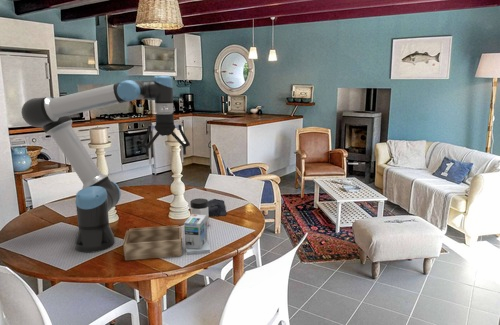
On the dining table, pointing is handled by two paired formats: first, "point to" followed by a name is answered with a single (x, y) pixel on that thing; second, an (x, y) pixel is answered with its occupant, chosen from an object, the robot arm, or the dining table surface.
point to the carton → (152, 242)
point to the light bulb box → (195, 231)
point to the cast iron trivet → (216, 208)
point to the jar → (200, 207)
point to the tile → (204, 249)
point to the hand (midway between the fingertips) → (166, 162)
